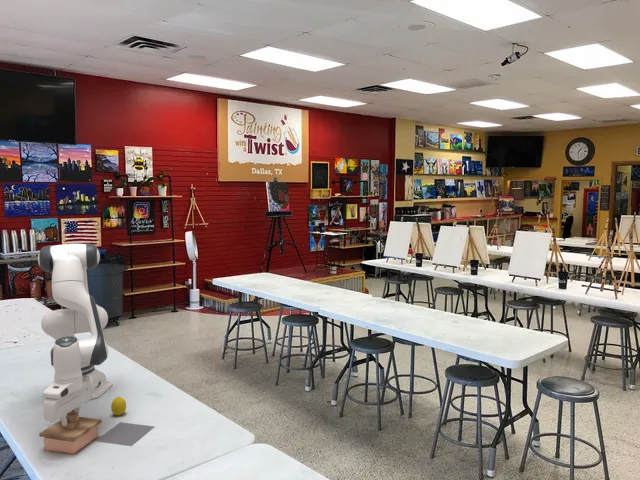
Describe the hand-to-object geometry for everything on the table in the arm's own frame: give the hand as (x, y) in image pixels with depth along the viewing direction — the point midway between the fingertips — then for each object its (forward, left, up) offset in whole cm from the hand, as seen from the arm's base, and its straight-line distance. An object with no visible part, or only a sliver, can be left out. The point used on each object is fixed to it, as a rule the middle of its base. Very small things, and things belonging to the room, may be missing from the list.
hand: (70, 421), depth 179 cm
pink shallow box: (0, 0, -9) cm, 9 cm away
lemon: (-24, +2, -9) cm, 26 cm away
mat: (-11, +14, -9) cm, 20 cm away
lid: (0, 0, -3) cm, 3 cm away
